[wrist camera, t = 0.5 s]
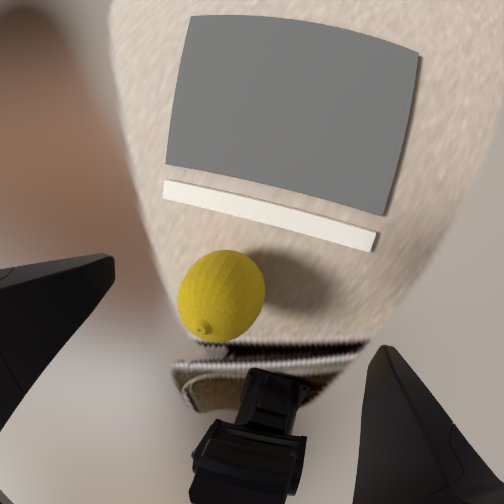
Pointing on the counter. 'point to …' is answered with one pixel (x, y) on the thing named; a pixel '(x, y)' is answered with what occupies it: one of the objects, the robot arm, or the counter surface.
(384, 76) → the mat
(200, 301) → the lemon
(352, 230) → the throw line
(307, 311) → the counter surface
